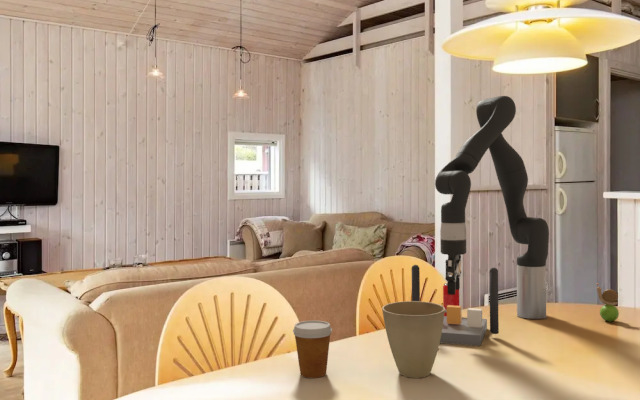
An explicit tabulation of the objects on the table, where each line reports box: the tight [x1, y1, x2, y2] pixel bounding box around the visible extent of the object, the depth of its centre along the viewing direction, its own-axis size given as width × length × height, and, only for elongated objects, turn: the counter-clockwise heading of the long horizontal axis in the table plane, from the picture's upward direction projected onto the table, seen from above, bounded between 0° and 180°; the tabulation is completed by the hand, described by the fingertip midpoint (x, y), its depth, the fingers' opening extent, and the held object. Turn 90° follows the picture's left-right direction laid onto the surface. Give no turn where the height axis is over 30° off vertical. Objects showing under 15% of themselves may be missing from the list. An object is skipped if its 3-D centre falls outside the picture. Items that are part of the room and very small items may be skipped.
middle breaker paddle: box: [447, 305, 463, 324], centre depth 173 cm, size 4×2×5 cm, turn 69°
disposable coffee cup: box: [292, 320, 333, 379], centre depth 140 cm, size 10×10×12 cm
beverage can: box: [442, 282, 460, 316], centre depth 191 cm, size 5×5×12 cm
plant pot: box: [381, 300, 445, 379], centre depth 139 cm, size 15×15×16 cm
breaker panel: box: [439, 307, 488, 347], centre depth 173 cm, size 17×20×8 cm
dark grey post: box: [488, 267, 500, 335], centre depth 169 cm, size 2×2×19 cm
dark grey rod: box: [411, 264, 421, 301], centre depth 177 cm, size 2×2×19 cm
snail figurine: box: [596, 282, 620, 322], centre depth 186 cm, size 5×6×12 cm
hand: (453, 291), depth 173 cm, fingers open, 8 cm apart
